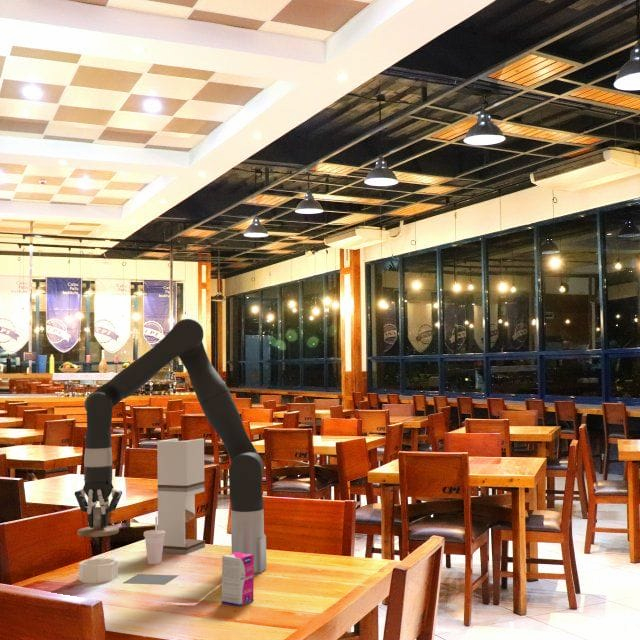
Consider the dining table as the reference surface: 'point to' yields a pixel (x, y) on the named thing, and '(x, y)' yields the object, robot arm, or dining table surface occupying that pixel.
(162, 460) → the white coffee maker
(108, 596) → the dining table surface
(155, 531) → the smoothie
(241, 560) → the supplement box
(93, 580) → the bowl
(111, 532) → the lid
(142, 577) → the mat
